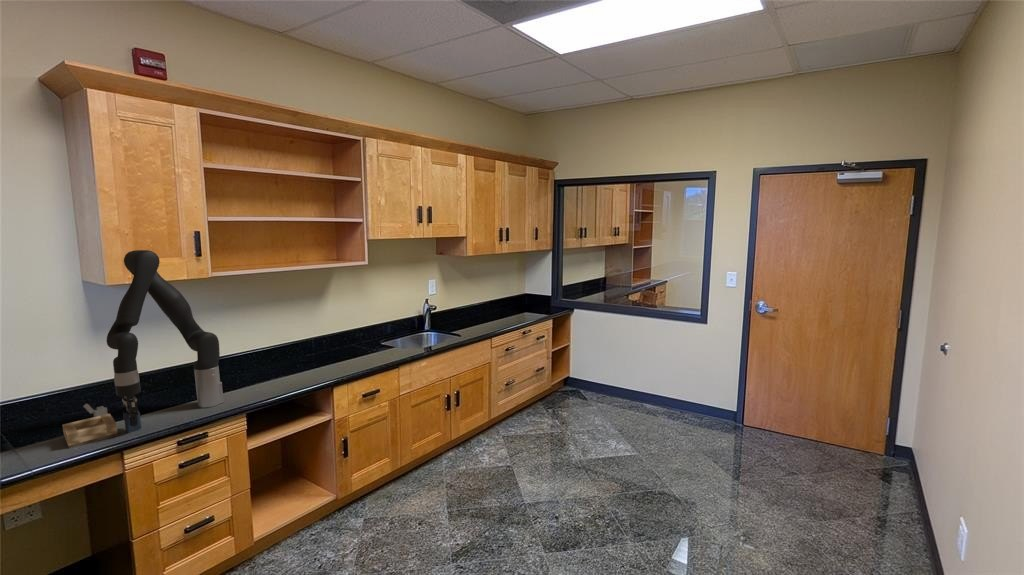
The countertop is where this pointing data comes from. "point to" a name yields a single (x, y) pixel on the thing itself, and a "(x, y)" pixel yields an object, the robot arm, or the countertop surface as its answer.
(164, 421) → the countertop surface
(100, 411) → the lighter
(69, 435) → the block
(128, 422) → the vaping device
